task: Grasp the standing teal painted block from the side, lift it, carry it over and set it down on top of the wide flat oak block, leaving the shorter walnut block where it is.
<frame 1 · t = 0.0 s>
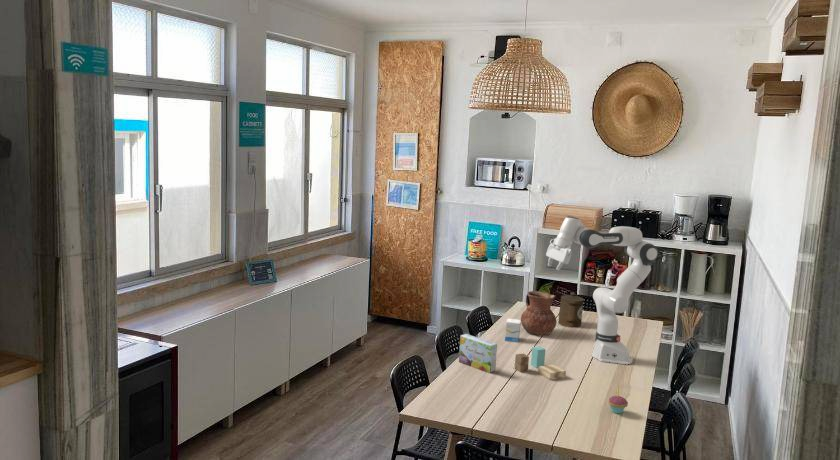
hand: (553, 268, 361), 52 cm above the table, tool tilted 20°, fingers open, 8 cm apart
oak base block: (551, 376, 346), on the table
cupcake: (617, 412, 304), on the table
jug: (537, 332, 420), on the table
snack box: (476, 367, 352), on the table
ink box: (512, 339, 403), on the table
teal block: (537, 365, 359), on the table
wooden container: (569, 324, 443), on the table
walnut block: (521, 370, 351), on the table
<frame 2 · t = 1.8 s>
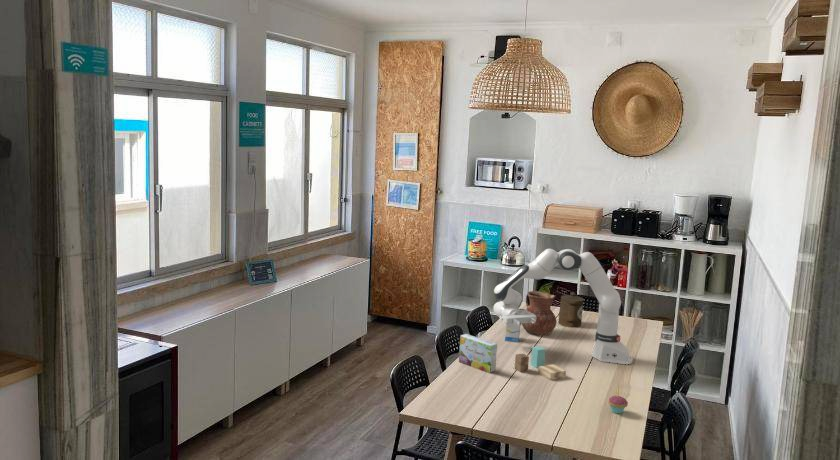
hand: (527, 322, 366), 21 cm above the table, tool horizontal, fingers open, 8 cm apart
nothing on the table moved.
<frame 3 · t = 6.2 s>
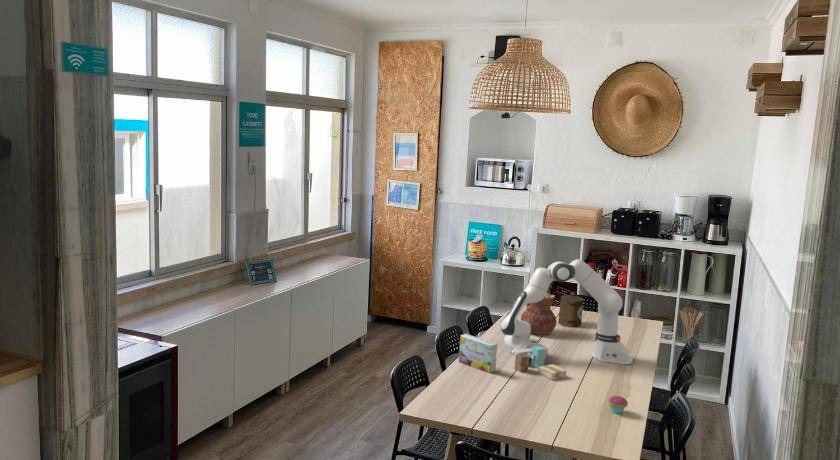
hand: (539, 356, 357), 6 cm above the table, tool horizontal, fingers closed on teal block, 5 cm apart
teal block: (537, 365, 359), on the table, touching gripper
everything else where it was.
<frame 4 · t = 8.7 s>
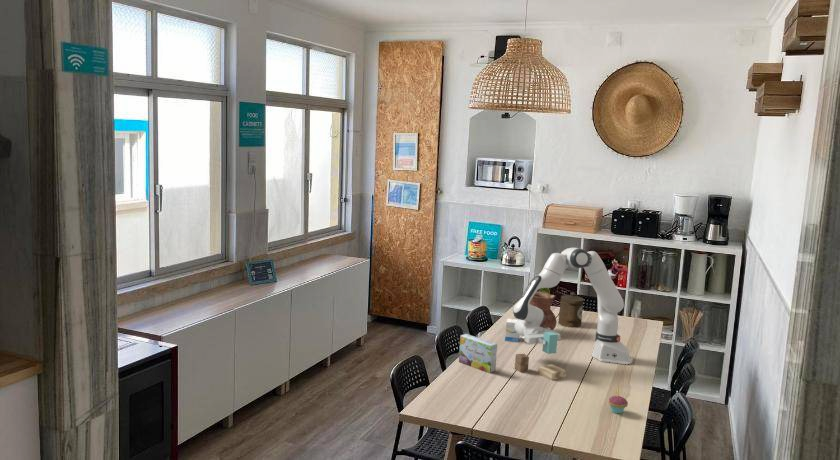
hand: (551, 342, 346), 17 cm above the table, tool horizontal, fingers closed on teal block, 5 cm apart
teal block: (549, 351, 348), point 11 cm above the table, touching gripper
everything else where it was.
when the fingers open (10 cm above the table, at t = 10.9 s): teal block drops 1 cm, resting on oak base block.
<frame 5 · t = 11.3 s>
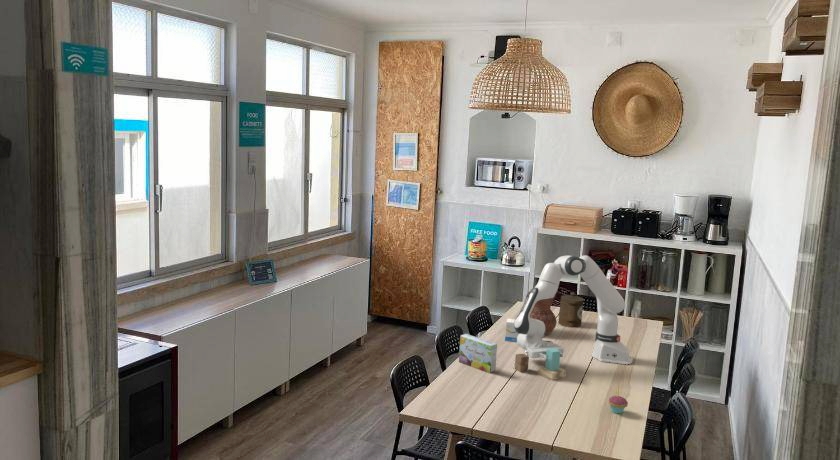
hand: (554, 356, 343), 10 cm above the table, tool horizontal, fingers open, 8 cm apart
oak base block: (551, 376, 346), on the table, touching teal block
teal block: (551, 368, 345), point 4 cm above the table, touching oak base block
everything else where it was.
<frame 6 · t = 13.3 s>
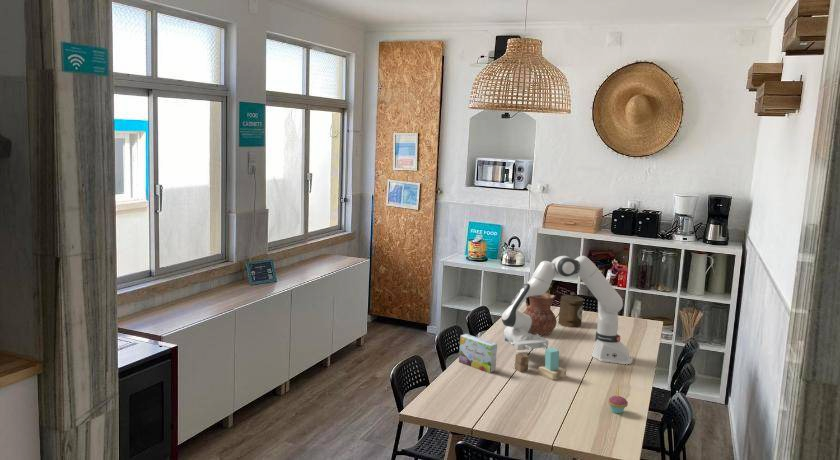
hand: (539, 348, 355), 11 cm above the table, tool horizontal, fingers open, 8 cm apart
oak base block: (551, 376, 346), on the table
teal block: (551, 368, 345), point 4 cm above the table
everything else where it was.
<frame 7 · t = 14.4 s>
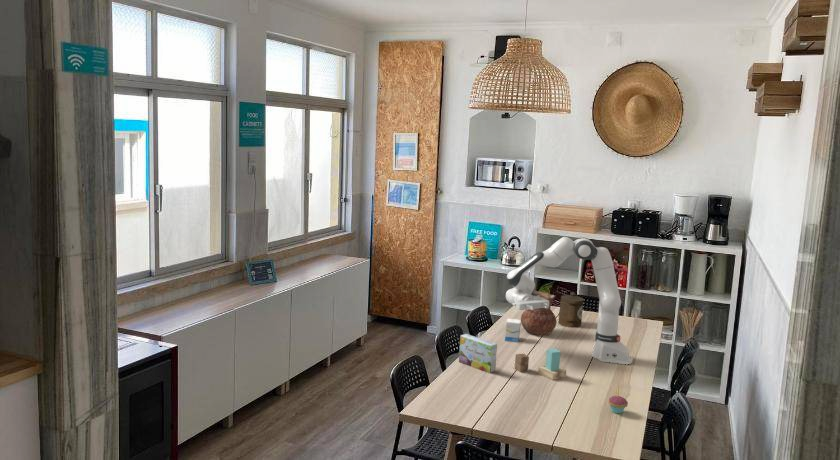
hand: (540, 307, 363), 30 cm above the table, tool horizontal, fingers open, 8 cm apart
nothing on the table moved.
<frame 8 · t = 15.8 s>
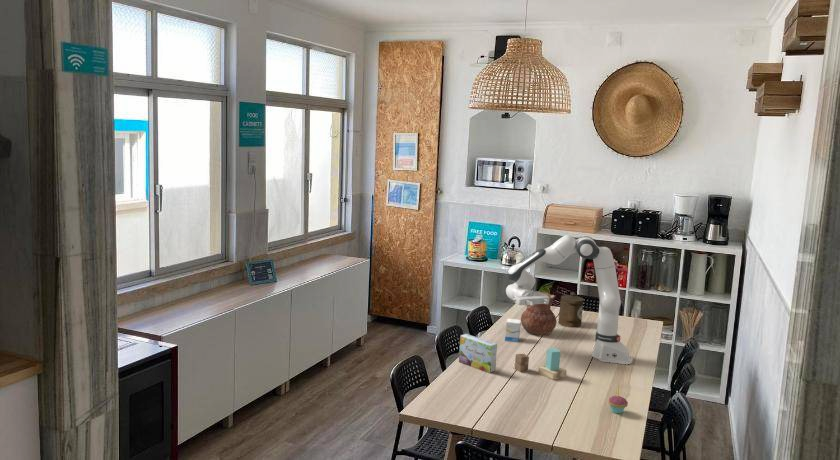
hand: (540, 303, 364), 32 cm above the table, tool horizontal, fingers open, 8 cm apart
oak base block: (552, 376, 346), on the table, touching teal block
teal block: (552, 368, 345), point 4 cm above the table, touching oak base block
everything else where it was.
at the end: teal block 0.4 cm from the oak base block (horizontally); teal block point 3.6 cm above the table; teal block tilted 1° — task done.
